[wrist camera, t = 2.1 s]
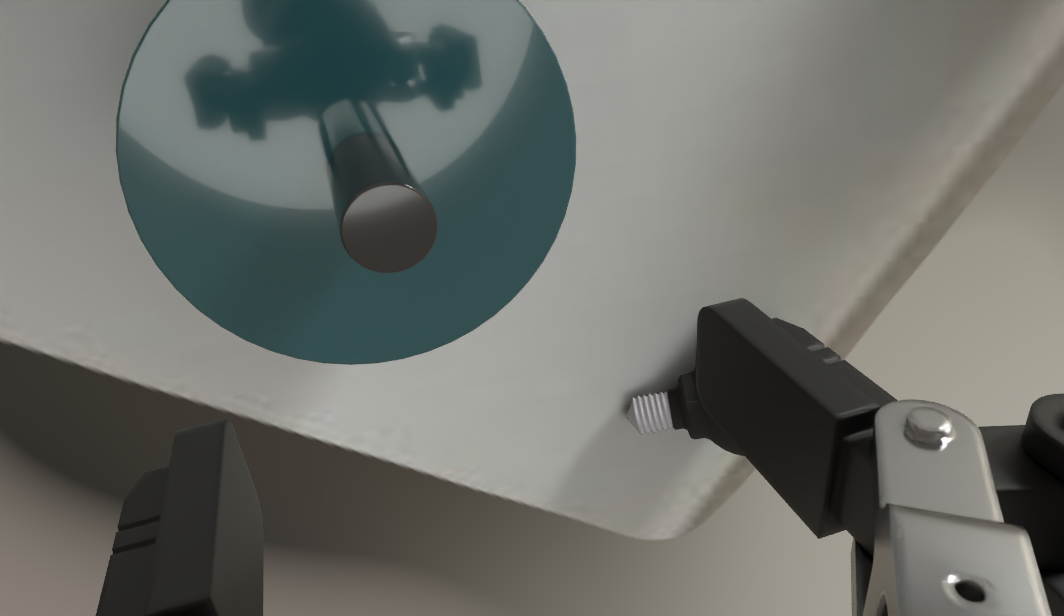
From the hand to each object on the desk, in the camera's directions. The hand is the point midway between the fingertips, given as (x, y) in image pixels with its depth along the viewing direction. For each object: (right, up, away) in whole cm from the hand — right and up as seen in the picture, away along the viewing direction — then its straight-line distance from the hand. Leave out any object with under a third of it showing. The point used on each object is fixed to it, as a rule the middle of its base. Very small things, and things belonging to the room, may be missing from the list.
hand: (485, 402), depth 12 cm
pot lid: (-4, +6, +10) cm, 13 cm away
